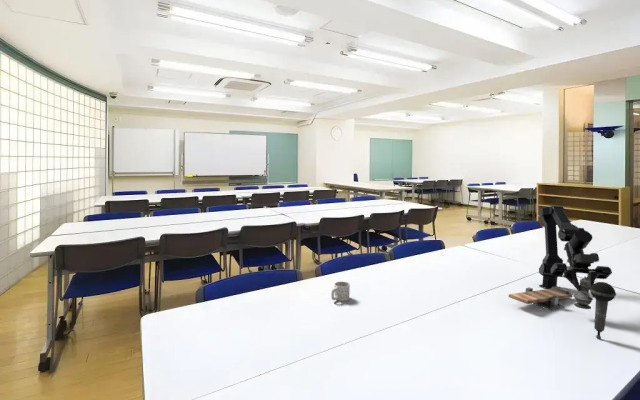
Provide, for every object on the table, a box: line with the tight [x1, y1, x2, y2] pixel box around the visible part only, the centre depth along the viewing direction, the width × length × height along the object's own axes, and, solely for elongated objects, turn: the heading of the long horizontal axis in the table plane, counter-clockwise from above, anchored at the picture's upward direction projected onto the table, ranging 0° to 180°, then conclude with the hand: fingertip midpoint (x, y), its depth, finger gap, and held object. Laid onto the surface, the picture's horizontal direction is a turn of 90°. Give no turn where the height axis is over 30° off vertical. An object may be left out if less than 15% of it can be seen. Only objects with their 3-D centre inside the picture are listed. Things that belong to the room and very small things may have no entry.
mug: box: [330, 280, 351, 302], centre depth 150 cm, size 10×7×7 cm
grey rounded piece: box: [573, 275, 594, 310], centre depth 130 cm, size 6×6×12 cm
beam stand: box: [525, 286, 565, 312], centre depth 146 cm, size 8×14×5 cm, turn 26°
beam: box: [508, 286, 574, 305], centre depth 145 cm, size 32×8×2 cm, turn 117°
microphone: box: [589, 281, 617, 340], centre depth 115 cm, size 7×7×20 cm
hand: (585, 291), depth 129 cm, fingers closed on grey rounded piece, 4 cm apart
